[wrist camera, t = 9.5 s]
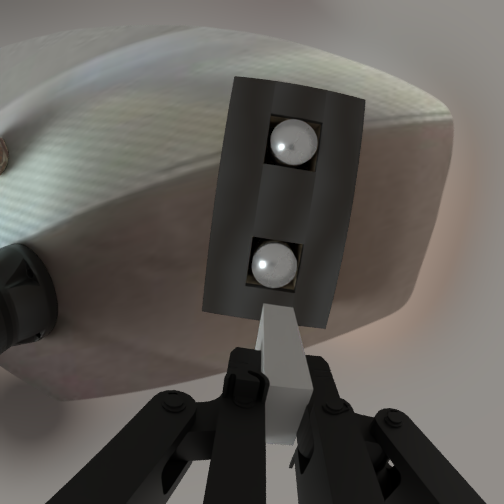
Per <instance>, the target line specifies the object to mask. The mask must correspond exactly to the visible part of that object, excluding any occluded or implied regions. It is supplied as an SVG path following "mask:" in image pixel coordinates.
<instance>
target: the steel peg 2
mask: <svg viewBox="0 0 504 504" xmlns="http://www.w3.org/2000/svg"><path fill="white" fill-rule="evenodd" d="M296 270H297V261H296V258H295V256H294V253H293V251H292V249H291V247H290V244H289V243H288V242H286V241H279V240H273V239H266V238H261V239H260V240H259V241H258V242H257V244H256V246H255V249H254V254H253V260H252V272H253V275H254V277H255V278H256V280H257V281H258V282H259V283H261V284H262V285H264V286H266V287H270V288H279V287H282V286H285V285H286V284H288V283H289V282H290V281H291V280H292V279H293V278H294V276H295V274H296Z"/></svg>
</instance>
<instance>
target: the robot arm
mask: <svg viewBox="0 0 504 504" xmlns="http://www.w3.org/2000/svg"><path fill="white" fill-rule="evenodd" d="M56 319H57V299H56V294H55V290H54V286H53V283H52V280H51V278H50V276H49V274H48V272H47V270H46V268H45V266H44V265H43V263H42V262H41V260H40V259H39V258H38V256H37V255H36V254H35V253H34V252H33V251H32V250H30V249H29V248H27V247H26V246H23V245H21V244H12V245H8V246H5V247H2V248H1V249H0V354H2V353H3V352H4V351H6V350H7V349H8V348H10V347H11V346H16V345H21V344H27V343H32V342H36V341H39V340H41V339H42V338H43V337H45V336H46V335H47V334H49V333H50V332H51V331H52V329H53V328H54V326H55V323H56ZM330 371H331V370H330V368H329V365H328V363H327V362H326V361H325V360H324V359H323V358H322V357H321V356H312V355H311V356H310V355H305V353H304V348H303V344H302V340H301V336H300V332H299V328H298V324H297V320H296V316H295V313H294V309H293V308H292V307H285V306H278V305H271V304H264V303H263V309H262V314H261V320H260V325H259V330H258V336H257V341H256V346H255V350H254V349H247V348H240V347H236V348H235V349H234V350H233V351H232V352H231V353H230V358H229V364H228V369H227V374H226V376H225V378H224V385H223V393H222V394H221V396H220V397H218V398H217V399H215V400H212V401H208V402H195V400H194V399H193V398H192V397H191V396H190V395H188V394H186V393H184V392H180V391H176V390H167V391H163V392H160V393H158V394H157V395H155V396H154V397H153V398H152V399H151V400H150V401H149V402H148V403H147V404H146V405H145V406H144V407H143V408H142V409H141V410H140V411H139V412H138V413H137V414H136V416H134V418H132V419H131V420H130V421H129V422H128V424H127V425H126V426H125V427H124V428H123V429H122V430H121V431H120V432H119V433H118V434H117V435H116V436H115V437H114V438H113V439H112V440H111V441H110V442H109V443H108V444H107V445H106V446H105V447H104V448H103V449H102V450H101V451H100V452H99V453H98V454H96V456H94V457H93V458H92V459H91V460H90V461H89V463H87V464H86V465H85V466H84V467H83V468H82V469H81V470H80V471H79V472H78V473H77V474H76V475H75V476H74V477H73V478H72V479H71V480H70V481H69V482H68V483H67V484H66V485H64V486H63V487H62V488H61V489H60V490H59V491H58V492H57V493H56V494H55V495H54V496H53V497H52V498H51V499H50V500H49V501H47V502H46V503H45V504H166V502H167V501H168V499H169V498H170V496H171V495H172V493H173V492H174V490H175V489H176V487H177V486H178V484H179V483H180V481H181V479H182V478H183V476H184V475H185V473H186V472H187V470H188V468H189V467H190V465H191V464H192V461H195V460H209V459H211V461H210V467H209V472H208V478H207V484H206V490H205V495H204V501H203V504H266V446H265V445H266V443H268V444H281V445H293V444H294V441H295V439H296V436H297V443H298V446H297V448H296V450H295V453H294V455H293V457H292V460H291V462H290V465H289V468H292V467H293V465H294V463H295V470H296V481H297V492H298V503H299V504H486V503H485V502H484V501H483V499H481V497H480V496H479V495H478V494H477V493H476V492H475V490H474V489H473V488H472V487H471V486H470V485H469V484H468V483H467V481H466V480H465V479H464V478H463V477H462V476H461V475H460V474H459V473H458V471H457V470H456V469H455V468H454V467H453V466H452V465H451V464H450V463H449V461H448V460H447V459H446V458H445V457H444V456H443V455H442V454H441V452H440V451H439V450H438V449H437V448H436V447H435V446H434V445H433V444H432V442H431V441H430V440H429V439H428V438H427V437H426V436H425V435H424V434H423V432H422V431H421V430H420V429H419V428H418V427H417V426H416V425H415V424H414V423H413V421H412V420H411V419H410V418H409V417H408V416H407V415H406V414H404V413H403V412H401V411H399V410H397V409H391V408H387V409H382V410H380V411H378V413H377V414H376V415H375V417H369V416H365V415H360V414H357V413H354V411H353V408H352V407H351V405H350V404H349V403H348V402H347V401H345V400H344V399H341V398H340V396H339V394H338V391H337V388H336V385H335V382H334V379H333V376H332V374H331V372H330ZM389 460H391V461H392V463H393V464H394V466H393V467H392V466H390V465H389V463H388V462H389Z"/></svg>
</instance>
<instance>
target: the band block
mask: <svg viewBox="0 0 504 504" xmlns="http://www.w3.org/2000/svg"><path fill="white" fill-rule="evenodd" d="M364 111H365V100H364V99H360V98H357V97H353V96H349V95H345V94H341V93H336V92H332V91H328V90H323V89H318V88H313V87H308V86H303V85H297V84H291V83H285V82H278V81H271V80H264V79H256V78H247V77H236V76H235V77H234V82H233V88H232V93H231V99H230V105H229V111H228V116H227V122H226V128H225V135H224V141H223V147H222V154H221V160H220V167H219V174H218V181H217V188H216V195H215V202H214V210H213V218H212V225H211V233H210V242H209V250H208V259H207V268H206V277H205V286H204V296H203V306H202V311H204V312H209V313H215V314H221V315H227V316H233V317H240V318H246V319H253V320H261V314H262V309H263V303H264V304H271V305H278V306H285V307H292V308H293V309H294V313H295V316H296V320H297V324H298V326H305V327H314V328H323V329H326V325H327V321H328V317H329V313H330V309H331V305H332V301H333V297H334V293H335V289H336V284H337V280H338V276H339V271H340V266H341V262H342V257H343V252H344V247H345V242H346V237H347V232H348V226H349V221H350V215H351V210H352V204H353V198H354V191H355V185H356V178H357V171H358V164H359V156H360V149H361V140H362V131H363V122H364ZM290 119H296V120H301V121H303V122H305V123H307V124H308V125H309V126H311V128H312V129H313V130H314V132H315V134H316V136H317V149H316V152H315V154H314V155H313V156H312V157H311V158H310V159H309V162H308V169H307V171H306V170H300V169H294V168H288V167H282V166H276V165H270V164H264V162H265V156H266V149H267V143H268V136H269V129H270V127H273V128H275V127H276V126H277V125H278V124H280V123H281V122H283V121H285V120H290ZM253 237H260V238H266V239H273V240H279V241H286V242H292V243H295V249H294V256H295V258H296V261H297V270H296V274H295V276H294V278H293V279H292V280H291V281H290V282H289V283H288V284H286V285H285V286H282V287H279V288H270V287H266V286H264V285H262V284H261V283H259V282H258V281H257V280H256V278H255V277H254V275H253V272H252V269H249V262H250V256H251V249H252V242H253Z"/></svg>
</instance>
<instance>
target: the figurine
mask: <svg viewBox="0 0 504 504" xmlns="http://www.w3.org/2000/svg"><path fill="white" fill-rule="evenodd" d="M8 157H9V152H8V149H7V147H6V145H5V141H4V140H3V138H0V175H1V174H2V173H3V171H4V169H5V168H6V165H7V163H8Z"/></svg>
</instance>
